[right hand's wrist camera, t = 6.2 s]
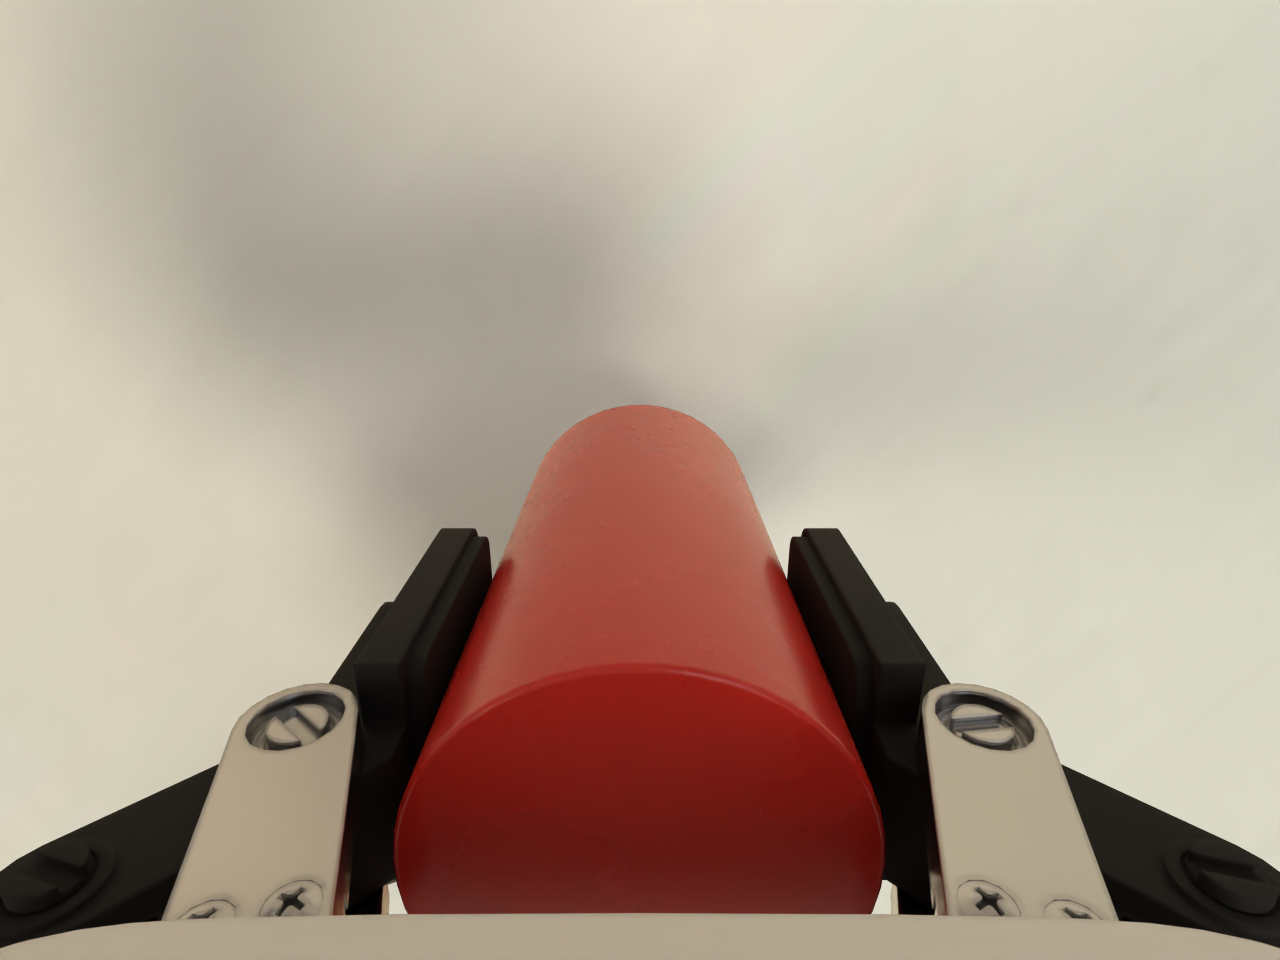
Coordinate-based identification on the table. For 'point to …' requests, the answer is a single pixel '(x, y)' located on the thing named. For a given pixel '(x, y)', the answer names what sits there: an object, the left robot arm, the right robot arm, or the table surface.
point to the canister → (639, 707)
